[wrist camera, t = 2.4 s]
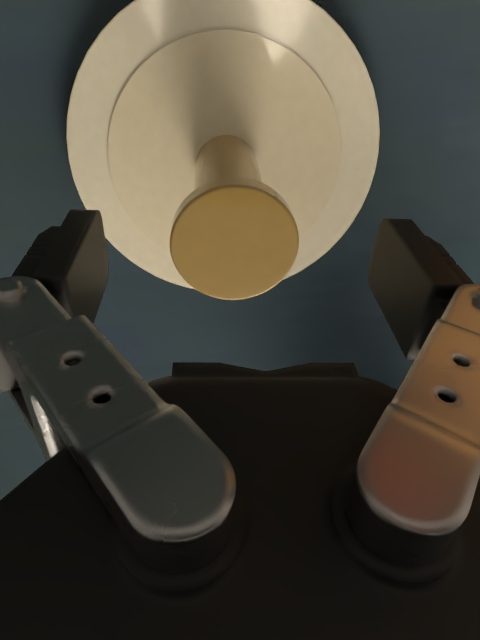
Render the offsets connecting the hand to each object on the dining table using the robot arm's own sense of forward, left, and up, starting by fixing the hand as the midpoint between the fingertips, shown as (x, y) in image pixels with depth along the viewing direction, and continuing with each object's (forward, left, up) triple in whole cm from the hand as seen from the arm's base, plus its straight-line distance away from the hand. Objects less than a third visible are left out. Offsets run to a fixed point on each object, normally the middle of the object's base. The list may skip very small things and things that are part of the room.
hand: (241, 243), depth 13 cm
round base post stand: (0, 0, -7) cm, 7 cm away
